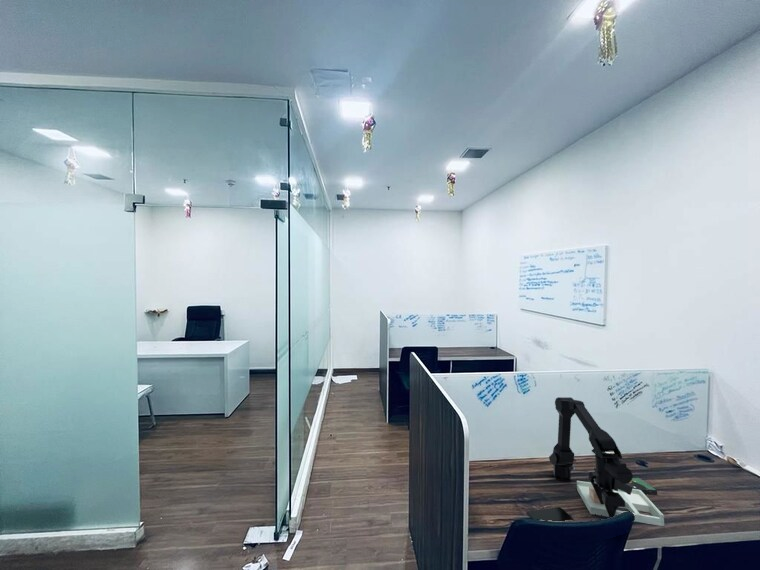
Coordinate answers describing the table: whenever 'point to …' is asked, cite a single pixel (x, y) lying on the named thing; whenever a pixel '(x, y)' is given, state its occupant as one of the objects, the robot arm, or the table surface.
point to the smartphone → (550, 514)
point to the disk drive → (643, 486)
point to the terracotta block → (593, 495)
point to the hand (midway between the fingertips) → (606, 510)
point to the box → (632, 503)
